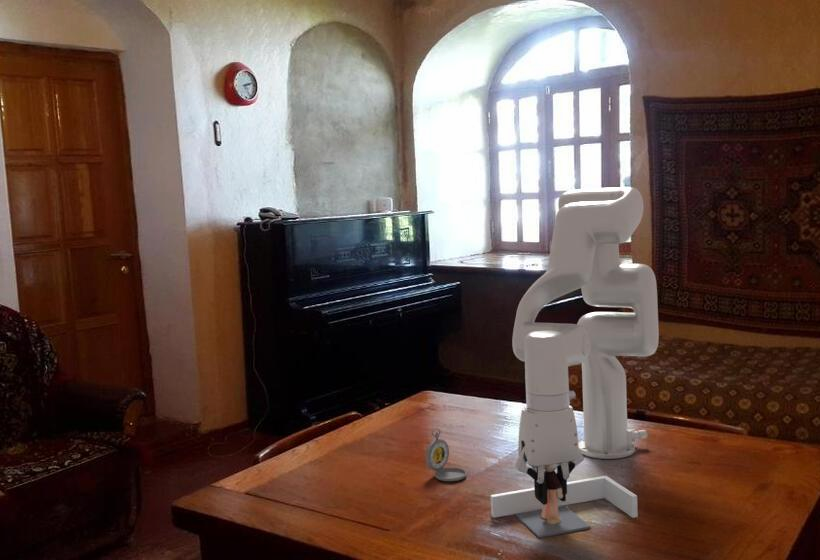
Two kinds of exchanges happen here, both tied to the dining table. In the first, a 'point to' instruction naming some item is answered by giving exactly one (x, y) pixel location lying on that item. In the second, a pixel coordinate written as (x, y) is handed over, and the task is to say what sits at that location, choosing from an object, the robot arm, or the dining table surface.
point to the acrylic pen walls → (567, 497)
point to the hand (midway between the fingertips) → (551, 499)
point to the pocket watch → (442, 461)
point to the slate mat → (543, 529)
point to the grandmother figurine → (552, 495)
